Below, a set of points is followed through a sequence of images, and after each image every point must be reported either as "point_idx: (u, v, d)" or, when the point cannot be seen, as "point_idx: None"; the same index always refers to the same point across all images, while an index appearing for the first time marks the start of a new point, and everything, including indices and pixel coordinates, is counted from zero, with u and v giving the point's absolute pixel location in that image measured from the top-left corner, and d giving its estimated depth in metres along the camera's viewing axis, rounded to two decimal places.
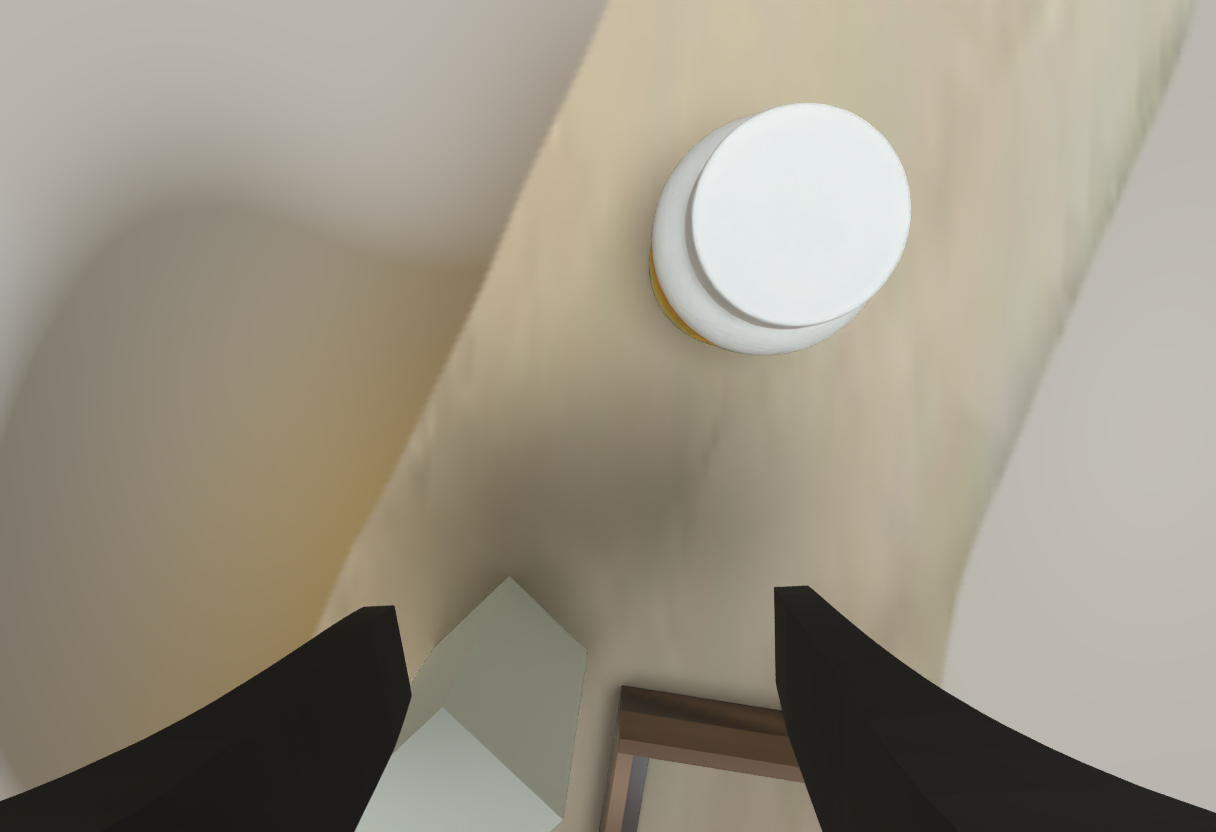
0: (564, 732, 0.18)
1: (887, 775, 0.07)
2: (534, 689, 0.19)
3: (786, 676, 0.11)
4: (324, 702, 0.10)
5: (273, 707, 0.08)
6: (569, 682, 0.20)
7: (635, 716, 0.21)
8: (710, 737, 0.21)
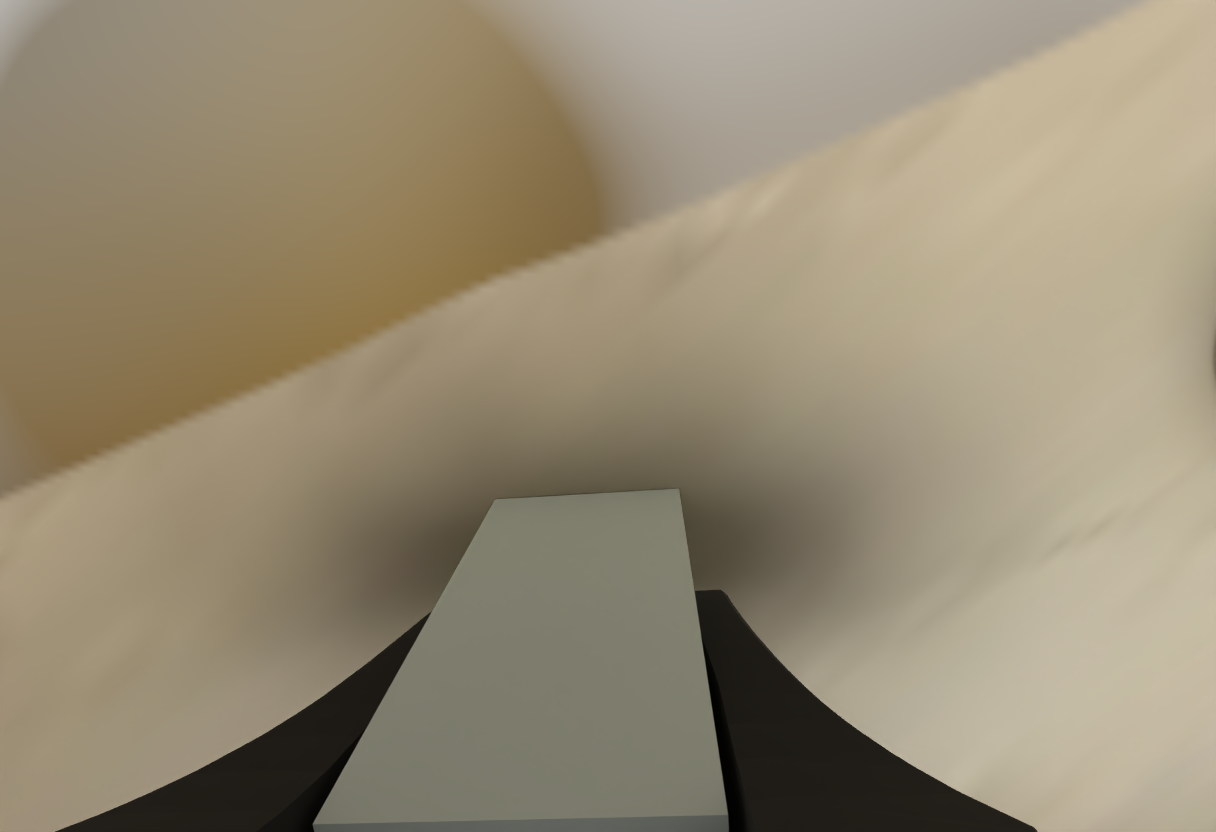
0: None
1: (736, 779, 0.07)
2: None
3: None
4: None
5: None
6: None
7: None
8: None
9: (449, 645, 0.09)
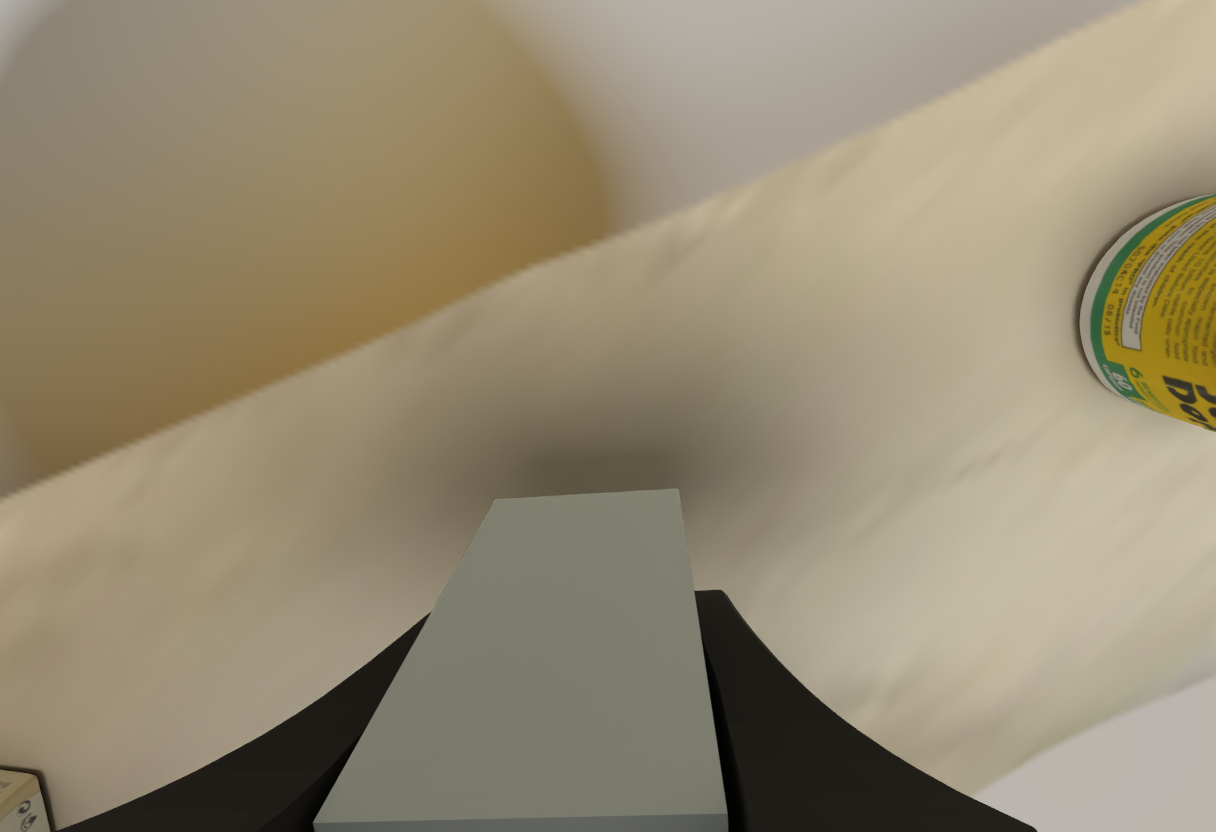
0: None
1: (736, 779, 0.07)
2: None
3: None
4: None
5: None
6: None
7: None
8: None
9: (449, 644, 0.09)
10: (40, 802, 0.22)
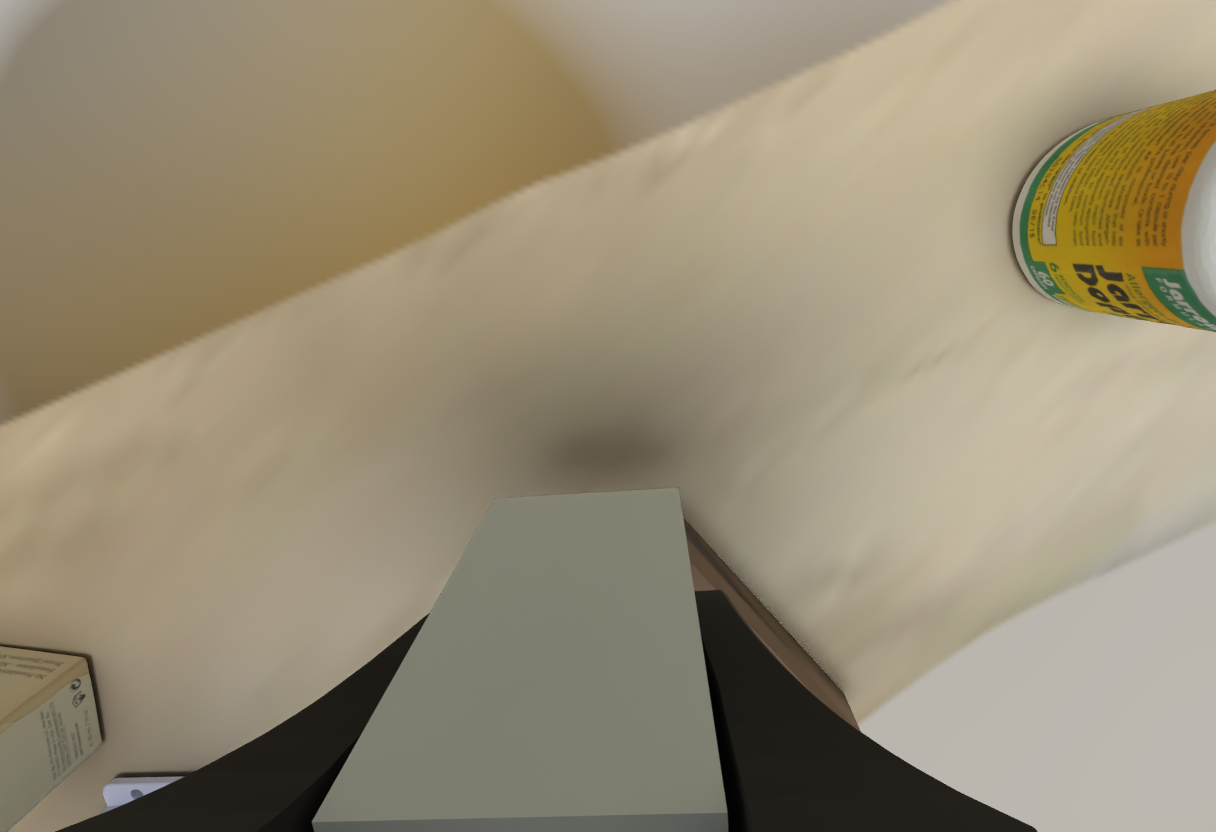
0: None
1: (735, 779, 0.07)
2: None
3: None
4: None
5: None
6: None
7: None
8: (731, 595, 0.20)
9: (448, 643, 0.09)
10: (88, 683, 0.25)
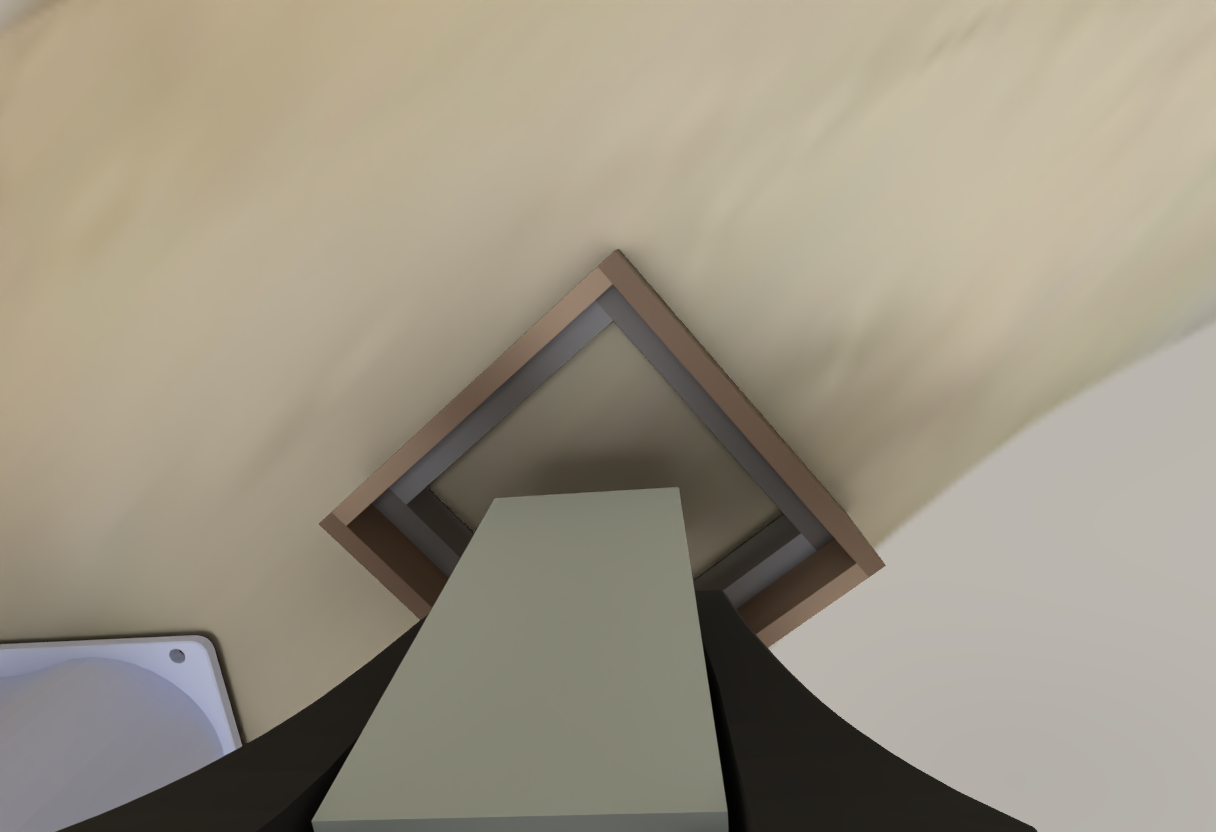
0: None
1: (736, 780, 0.07)
2: None
3: None
4: None
5: None
6: None
7: (630, 266, 0.15)
8: (699, 347, 0.15)
9: (448, 643, 0.09)
10: None
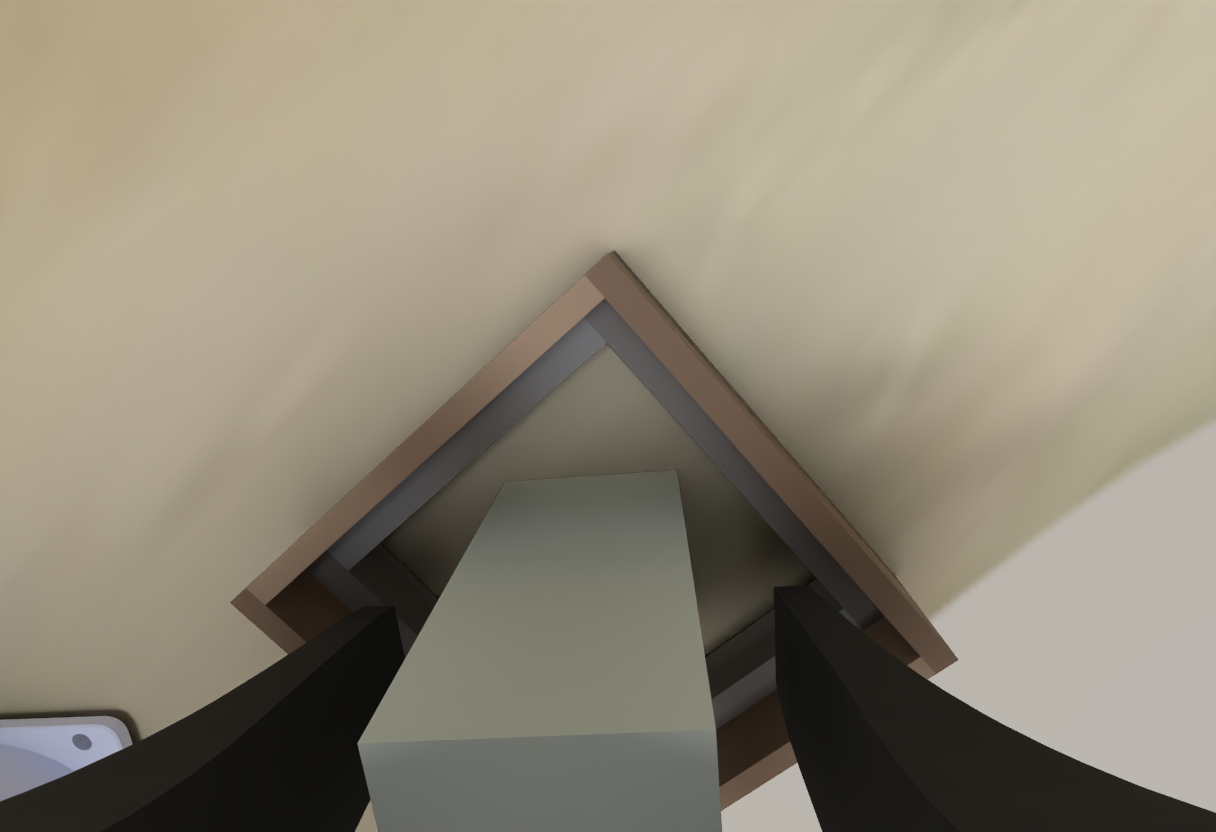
0: None
1: (888, 775, 0.07)
2: None
3: (786, 676, 0.11)
4: (324, 702, 0.10)
5: (273, 707, 0.08)
6: None
7: (628, 273, 0.12)
8: (718, 378, 0.12)
9: (468, 604, 0.10)
10: None
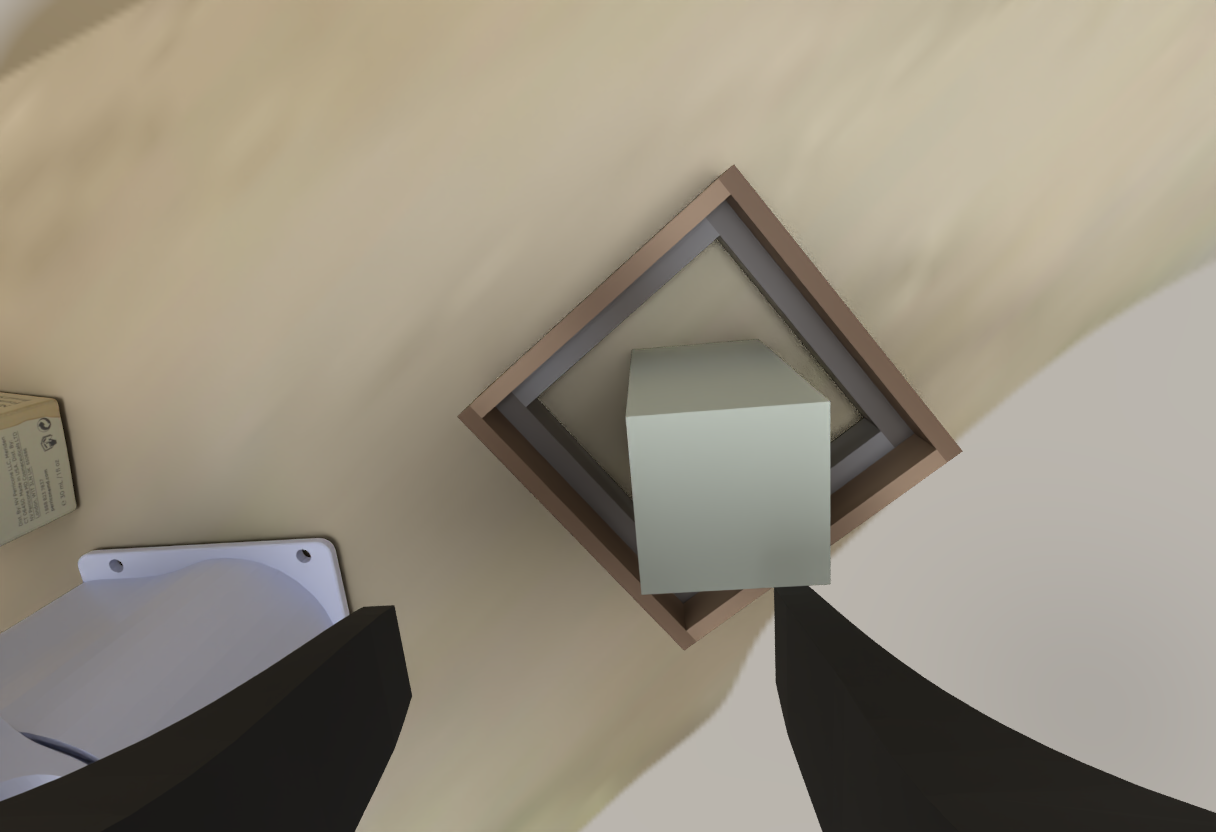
0: None
1: (887, 775, 0.07)
2: None
3: (786, 676, 0.11)
4: (324, 702, 0.10)
5: (273, 707, 0.08)
6: None
7: None
8: None
9: (650, 384, 0.15)
10: (60, 429, 0.22)
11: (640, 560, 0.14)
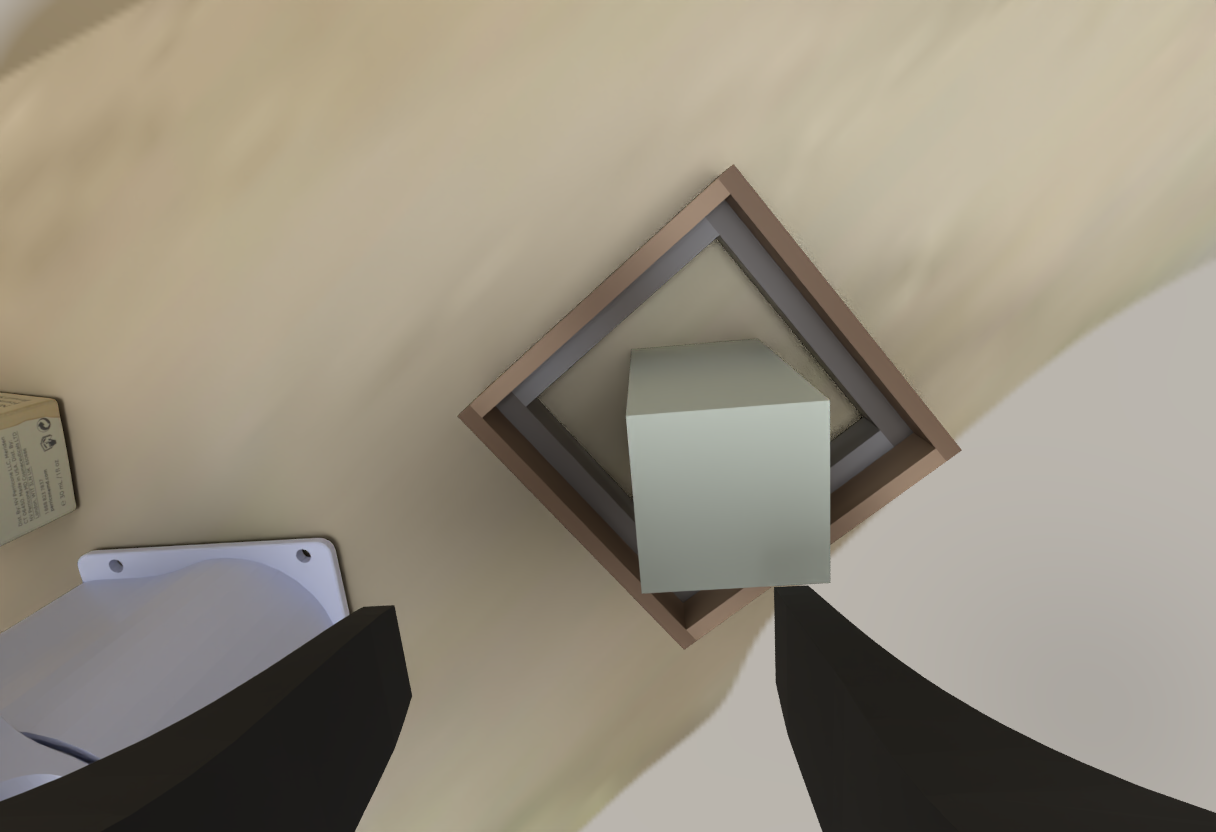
0: None
1: (887, 775, 0.07)
2: None
3: (786, 676, 0.11)
4: (324, 702, 0.10)
5: (273, 707, 0.08)
6: None
7: None
8: None
9: (650, 383, 0.15)
10: (60, 429, 0.22)
11: (640, 559, 0.14)
